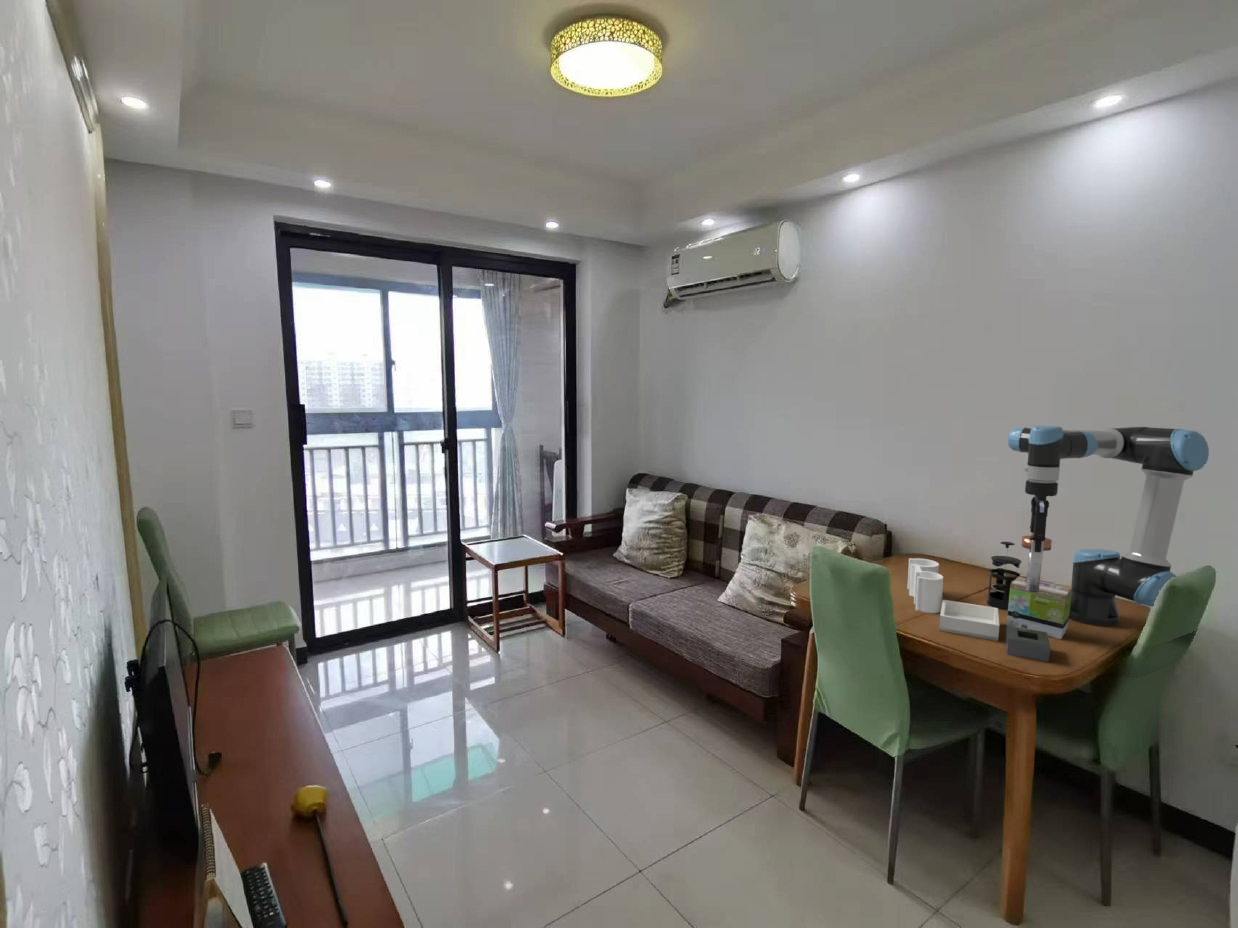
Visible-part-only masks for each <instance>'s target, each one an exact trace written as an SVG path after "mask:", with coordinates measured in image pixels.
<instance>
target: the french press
mask: <svg viewBox="0 0 1238 928" xmlns="http://www.w3.org/2000/svg"><path fill="white" fill-rule="evenodd" d="M1000 544H1001V545H1005V548H1006V550H1005V555H994V556H991V558H990V559H991V560H992V561H991V562H992V565H993V566H994V567H997V568H993V569H990V570H989V580H988V581H989V583H988V593H987V601H986V604H987V605H988V607H994V608H998V610H1003V611H1008V604H1009V595H1010V586H1011V584H1012V582H1013V581H1014V580H1015V579H1016V578H1017V577H1021V573H1019V572H1017V571H1014V570H1011V569H1007V565H1013V566H1014V567H1015V568H1017V569H1019V568H1020V565H1021V564H1022V560H1021V559H1019V558H1016V557H1013V556H1008V549H1009V547H1010V546H1015V543H1013V542H1011V541H1001V542H1000ZM1001 566H1004V568H1002V567H1001ZM1006 574H1009V575H1012V576H1006ZM992 578H995V579H996V581H995V583H993V584H992Z"/></svg>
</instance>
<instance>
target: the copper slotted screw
mask: <svg viewBox="0 0 1238 928" xmlns="http://www.w3.org/2000/svg"><path fill="white" fill-rule="evenodd" d="M1037 536H1039V535H1037ZM1030 538H1033V536H1030V535H1023V536H1022V538H1021V547H1022V548H1024V549H1027V550H1028V553H1029V555H1028V557H1027V558H1028V559H1027V571H1026V578H1027V579H1026V590H1027V591H1029V592H1039V585H1040V581H1041V575H1042V574H1041V572H1042V563H1033V562H1030V559H1031V547H1032V540H1030ZM1052 543H1053V540H1052V539H1050V538H1048V537H1045V541H1044V547H1043V552H1045V551H1046V552H1048V551H1051V550H1052Z"/></svg>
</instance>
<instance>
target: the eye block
mask: <svg viewBox="0 0 1238 928" xmlns="http://www.w3.org/2000/svg"><path fill="white" fill-rule="evenodd" d="M1005 649H1006V650H1005V651H1006V654H1007V655H1009V656H1015V657H1019V658H1025V659H1031V660H1034V661H1035V660H1037V661H1040V662H1046V663H1049V661H1050V653H1051V643H1050V639H1049V636H1048V635H1047V632H1041V631H1035V630H1029V629H1023V628H1017V627H1012V626H1007V625H1006V634H1005Z"/></svg>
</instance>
